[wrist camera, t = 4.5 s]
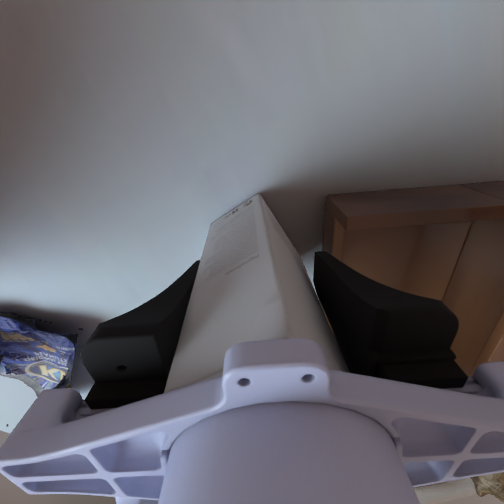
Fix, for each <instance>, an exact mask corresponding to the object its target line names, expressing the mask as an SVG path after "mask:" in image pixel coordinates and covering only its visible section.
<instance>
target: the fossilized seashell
mask: <svg viewBox="0 0 504 504" xmlns="http://www.w3.org/2000/svg"><path fill="white" fill-rule="evenodd" d="M471 479H472V480H473V482H474V484H475V489H476V493H477V494H478V495H479V496H480V497H482V496H484V495H486V494H492V495H494V496H495V497H496V498H498V499H499V500H501V501H502V502H504V472H501V473H494V474H487V475H481V476H475V477H471Z"/></svg>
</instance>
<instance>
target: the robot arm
mask: <svg viewBox="0 0 504 504" xmlns="http://www.w3.org/2000/svg"><path fill="white" fill-rule="evenodd" d="M199 264H200V260H198V261H196V262H195V263H194V264H193V265H192V266H191V267H190V268H189V269H188V270H187V271H186V272H185V273H184V274H183V275H182V276H181V277H180V278H178V279H177V280H176V281H175V282H174V283H173V284H171V285H170V286H169V287H168V288H167V289H165V290H164V291H163V292H161V293H160V294H159V295H157V296H156V297H154V298H153V299H151V300H149V301H148V302H146V303H144V304H142V305H141V306H139V307H137V308H135V309H133V310H131V311H129V312H127V313H125V314H123V315H120V316H118V317H116V318H113V319H111V320H108V321H105V322H103V323H100V324H99V325H98V326H97V327H96V329H95V330H94V331H93V333H92V334H91V336H90V337H89V338H88V340H87V341H86V342H85V344H84V345H83V347H82V349H81V359H82V361H83V364H84V365H85V367H86V368H87V370H88V372H89V373H90V375H91V376H92V378H93V379H94V381H95V383H94V385H93V386H92V388H91V390H90V392H89V393H88V395H87V397H86V399H85V400H83V399H82V397H81V395H80V393H79V392H78V391H77V390H75V389H72V388H62V389H46V390H43V391H42V392H41V393H40V395H39V396H38V397H37V399H36V400H35V401H34V403H33V404H32V405H31V407H30V408H29V410H28V411H27V412H26V414H25V415H24V416H23V418H22V419H21V420H20V422H19V423H18V424H17V426H16V427H15V428H14V430H13V431H12V432H11V434H10V435H9V436H8V438H7V439H6V441H5V442H4V443H3V444H2V446H1V447H0V473H1V474H3V475H4V476H5V477H6V478H8V479H9V480H10V481H12V482H13V483H14V484H16V485H17V486H18V487H20V488H21V489H22V490H24V491H25V492H26V493H28V494H83V495H100V496H111V497H115V499H116V504H420V502H419V500H418V498H417V495H416V493H415V491H414V489H413V487H419V486H424V485H430V484H436V483H441V482H447V481H452V480H458V479H463V478H469V477H475V476H481V475H487V474H494V473H501V472H504V361H499V362H486V363H482V364H480V365H478V367H477V368H476V369H475V371H474V374H473V376H469V377H468V376H467V375H466V374H465V373H464V371H463V370H462V369H461V368H460V367H459V365H458V364H457V363H456V362H455V361H454V360H455V359H456V355H455V353H454V352H453V351H452V350H451V349H450V347H451V345H452V343H453V341H454V338H455V336H456V334H457V332H458V328H459V320H458V318H457V317H456V315H455V314H454V313H453V312H452V311H451V310H450V309H449V308H448V307H447V306H446V305H445V304H444V303H443V302H441V301H440V300H436V299H432V298H427V297H422V296H418V295H414V294H411V293H407V292H403V291H400V290H397V289H394V288H392V287H389V286H386V285H384V284H381V283H379V282H376V281H374V280H372V279H370V278H368V277H366V276H364V275H362V274H360V273H359V272H357V271H355V270H353V269H352V268H350V267H349V266H347V265H346V264H344V263H343V262H341V261H340V260H338V259H337V258H335V257H334V256H332V255H331V254H330V253H328V252H326V251H318V252H315V258H314V278H313V281H314V285H315V289H316V293H317V296H318V298H319V301H320V303H321V305H322V307H323V310H324V312H325V314H326V317H327V319H328V321H329V323H330V326H331V328H332V331H333V334H334V337H335V339H336V342H337V344H338V346H339V349H340V351H341V353H342V356H343V358H344V360H345V363H346V365H347V367H348V370H349V372H350V373H348V372H342V371H336V370H331V369H328V366H327V363H326V360H325V357H324V353H323V350H322V347H321V345H320V344H318V343H317V342H315V341H314V340H312V339H304V338H291V339H276V340H260V341H246V342H242V343H238V344H234V345H233V346H232V347H231V348H229V349H228V350H227V351H226V354H225V359H224V368H223V375H222V376H218V377H215V378H212V379H209V380H205V381H202V382H199V383H196V384H192V385H189V386H186V387H183V388H179V389H176V390H173V391H170V392H167V393H164V391H165V387H166V383H167V380H168V376H169V372H170V369H171V365H172V362H173V358H174V355H175V352H176V348H177V345H178V341H179V337H180V333H181V329H182V325H183V322H184V318H185V315H186V311H187V307H188V304H189V300H190V296H191V293H192V289H193V286H194V282H195V278H196V275H197V271H198V267H199Z"/></svg>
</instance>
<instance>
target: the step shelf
mask: <svg viewBox="0 0 504 504" xmlns="http://www.w3.org/2000/svg"><path fill="white" fill-rule="evenodd" d="M325 207H326V208H325V220H324V234H323V249H322V251H326V252H328V253H330V254H331V255H332V256H334V257H335V258H337V259H338V260H340V261H341V262H343V263H344V264H346V265H347V266H349V267H350V268H352V269H353V270H355V271H357V272H359V273H360V274H362V275H364V276H366V277H368V278H370V279H372V280H374V281H376V282H379V283H381V284H384V285H386V286H389V287H392V288H394V289H397V290H400V291H403V292H407V293H411V294H414V295H418V296H422V297H427V298H432V299H436V300H440V301H441V302H443V303H444V304H445V305H446V306H447V307H448V308H449V309H450V310H451V311H452V312H453V313H454V314H455V315H456V317H457V318H458V320H459V328H458V332H457V334H456V336H455V338H454V341H453V343H452V345H451V347H450V349H451V350H452V351H453V352H454V353H455V355H456V359H455V360H454V361H455V362H456V363H457V364H458V365H459V367H460V368H461V369H462V370H463V371H464V373H465V374H466V375H467V376H468V377H469V376H473V374H474V371H475V369H476V368H477V367H478V365H480V364H482V363H486V362H499V361H504V181H496V182H483V183H471V184H459V185H447V186H434V187H422V188H409V189H397V190H384V191H372V192H360V193H347V194H335V195H326V203H325ZM319 302H320V301H319ZM320 304H321V303H320ZM321 307H322V305H321ZM322 309H323V307H322ZM323 311H324V310H323ZM324 314H325V312H324ZM325 316H326V314H325ZM326 318H327V317H326ZM327 321H328V319H327ZM328 323H329V321H328ZM329 325H330V323H329ZM330 328H331V326H330ZM331 330H332V328H331ZM332 332H333V331H332ZM333 335H334V334H333Z"/></svg>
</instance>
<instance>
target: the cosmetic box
mask: <svg viewBox="0 0 504 504" xmlns="http://www.w3.org/2000/svg"><path fill="white" fill-rule="evenodd" d="M291 338H304V339H312V340H314V341H315V342H317V343H318V344H320V345H321V347H322V350H323V353H324V357H325V360H326V363H327V366H328V369H331V370H336V371H342V372H348V373H350V372H349V370H348V367H347V365H346V363H345V360H344V358H343V356H342V353H341V351H340V349H339V346H338V344H337V342H336V339H335V337H334V335H333V332H332V330H331V328H330V325H329V323H328V321H327V318H326V316H325V314H324V311H323V309H322V307H321V304H320V302H319V300H318V297H317V295H316V293H315V290H314V288H313V286H312V283H311V281H310V278H309V276H308V274H307V271H306V269H305V267H304V264H303V262H302V260H301V257H300V255H299V254H298V252H297V251H296V249H295V248H294V246H293V245H292V243H291V241H290V240H289V238H288V237H287V235H286V234H285V232H284V231H283V229H282V227H281V226H280V224H279V223H278V221H277V220H276V218H275V217H274V215H273V213H272V212H271V210H270V209H269V207H268V206H267V204H266V203H265V201H264V199H263V198H262V197H261V195H260V194H257V195H255V196H253V197H252V198H250V199H249V200H247V201H246V202H244V203H242V204H241V205H239V206H238V207H236V208H235V209H233V210H231V211H230V212H228V213H227V214H225V215H224V216H222V217H221V218H219V219H218V220H216V221H215V222H213V223H212V224H211V225H210V228H209V231H208V235H207V239H206V242H205V246H204V249H203V253H202V257H201V260H200V264H199V267H198V271H197V275H196V278H195V282H194V286H193V289H192V293H191V296H190V300H189V304H188V307H187V311H186V315H185V318H184V322H183V325H182V329H181V333H180V337H179V341H178V345H177V348H176V352H175V355H174V358H173V362H172V365H171V369H170V372H169V376H168V380H167V383H166V387H165V391H164V393H167V392H170V391H173V390H176V389H179V388H183V387H186V386H189V385H192V384H196V383H199V382H202V381H205V380H209V379H212V378H215V377H218V376H222V375H223V368H224V359H225V354H226V351H227V350H228V349H229V348H231V347H232V346H233V345H234V344H238V343H242V342H246V341H260V340H276V339H291Z"/></svg>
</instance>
